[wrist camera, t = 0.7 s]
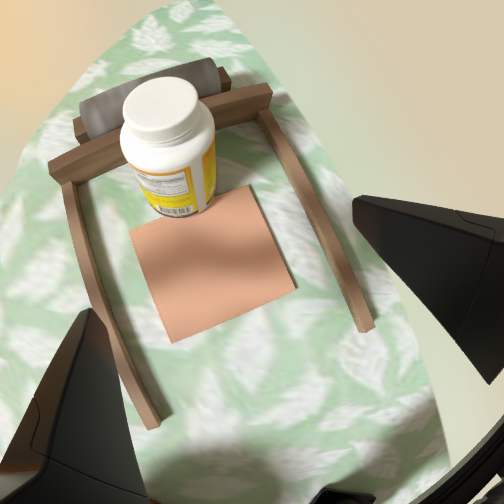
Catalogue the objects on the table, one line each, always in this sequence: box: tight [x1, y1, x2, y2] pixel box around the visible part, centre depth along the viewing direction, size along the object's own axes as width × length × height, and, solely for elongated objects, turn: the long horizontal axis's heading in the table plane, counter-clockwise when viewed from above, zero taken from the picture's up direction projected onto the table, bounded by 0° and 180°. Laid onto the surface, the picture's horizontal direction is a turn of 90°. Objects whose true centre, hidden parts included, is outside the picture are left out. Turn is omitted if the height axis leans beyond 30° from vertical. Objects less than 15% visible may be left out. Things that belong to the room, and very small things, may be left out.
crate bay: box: [48, 58, 376, 430], centre depth 20 cm, size 25×19×5 cm
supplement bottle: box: [120, 77, 216, 219], centre depth 18 cm, size 6×6×10 cm
